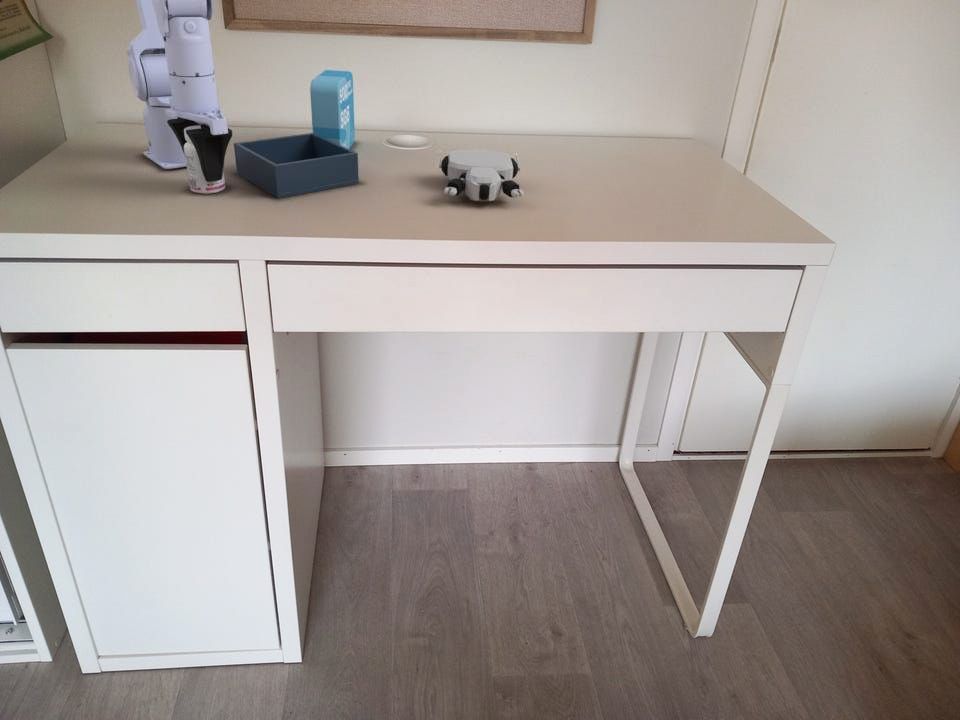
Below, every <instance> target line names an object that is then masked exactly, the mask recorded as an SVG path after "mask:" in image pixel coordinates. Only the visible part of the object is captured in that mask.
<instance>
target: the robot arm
mask: <svg viewBox="0 0 960 720" xmlns="http://www.w3.org/2000/svg"><path fill="white" fill-rule="evenodd" d="M134 1H135V5H136V9H137V13H138V18H139V24H140V27H141V31H139V33H138V34H137V35H135V37H134V38H133V39H132V40H131V41H130V42H129V43H128V45H127V50H126V56H127V61H128V72H129V78H130V83H131V87H132V90H133V92H134V95H135V96H136V98H138V100H140V101H141V102H145V105H144V107H143V112H142V116H143V122H144V128H145V134H146V139H147V145H148V150H147V151H143V153H142V154H143V155H144V157H146V158H148V159H149V160H150V161H152V162H153V163H154V164H156V165H158V166H159V167H161V168H162V169H164V170H171V169H179V168H185V167H186V168H187V166H186V159H185V153H184V145H185V143H187V142H188V141H186V140H185V135H184V129H185V128H187V127H190V126H199V125H200V126H201V129H191V130H186V134H187V135H188V137H189V138H190V140H191V141H192V143H193V145H194V147H195V149H196V152H197V155H198V157H199V161H200V165H201V169H202V172H203V175H204V178H205V180H206V181H207V182H211V181H217V180H222V175H223V172H224V167H225V159H226V154H227V150H228V146H229V143H230V141H231V139H232V137H233V129H230V128H229V127H228V121H227V118H226V117H225V116H224V114H223V111H222V107H221V106H219V105H220V104H219V96H218V89H217V88H218V87H217V80H216V73H215V64H214V55H213V48H212V41H211V32H210V25H209V24H210V23H209V21H211V20H212V18H213V11H214V10H213V6H214V5H213V0H134Z"/></svg>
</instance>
